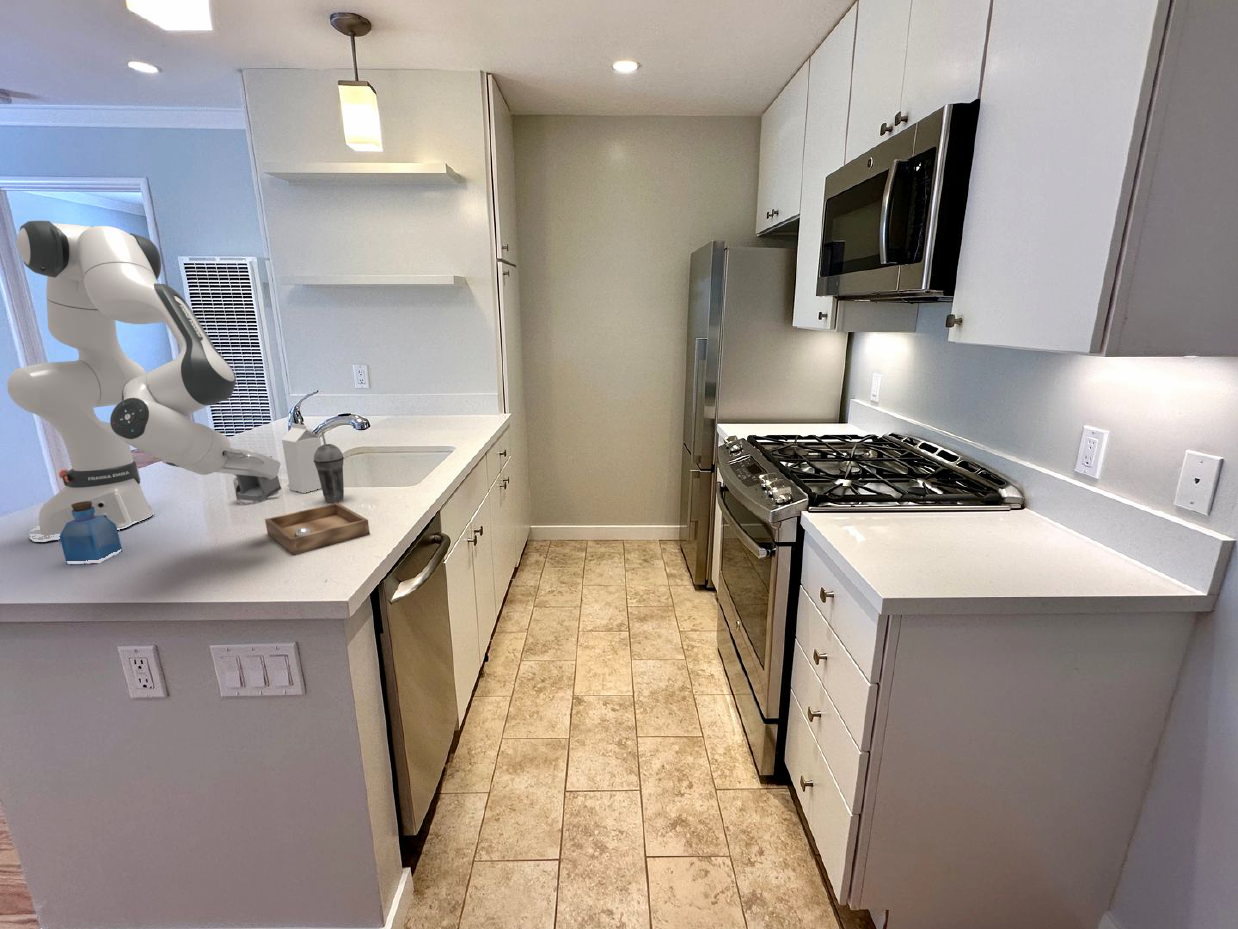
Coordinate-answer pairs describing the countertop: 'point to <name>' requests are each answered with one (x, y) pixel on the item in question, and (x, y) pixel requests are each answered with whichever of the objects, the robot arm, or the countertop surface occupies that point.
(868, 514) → the countertop surface
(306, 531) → the steel ball
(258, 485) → the grey ball display stand
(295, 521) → the walnut tray
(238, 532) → the countertop surface
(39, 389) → the robot arm
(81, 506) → the perfume bottle
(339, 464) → the beverage cup
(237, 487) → the mug
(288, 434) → the milk carton
